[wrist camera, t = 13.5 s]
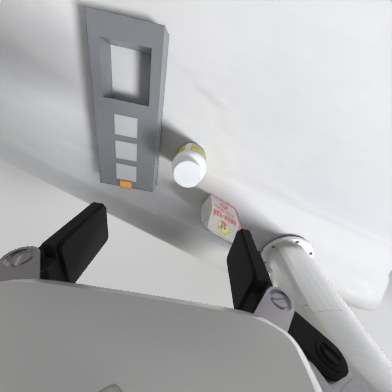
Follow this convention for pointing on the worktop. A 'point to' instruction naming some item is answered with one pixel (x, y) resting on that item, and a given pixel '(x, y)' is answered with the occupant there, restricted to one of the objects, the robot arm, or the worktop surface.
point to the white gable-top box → (220, 218)
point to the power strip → (122, 110)
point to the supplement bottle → (189, 165)
